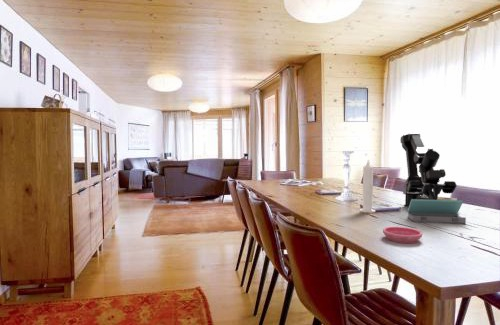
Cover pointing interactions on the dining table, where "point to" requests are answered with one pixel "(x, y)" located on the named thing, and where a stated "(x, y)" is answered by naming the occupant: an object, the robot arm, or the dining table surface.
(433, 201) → the cover
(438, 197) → the coffee box
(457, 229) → the dining table surface
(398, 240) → the saucer
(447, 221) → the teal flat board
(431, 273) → the dining table surface
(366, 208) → the candle
